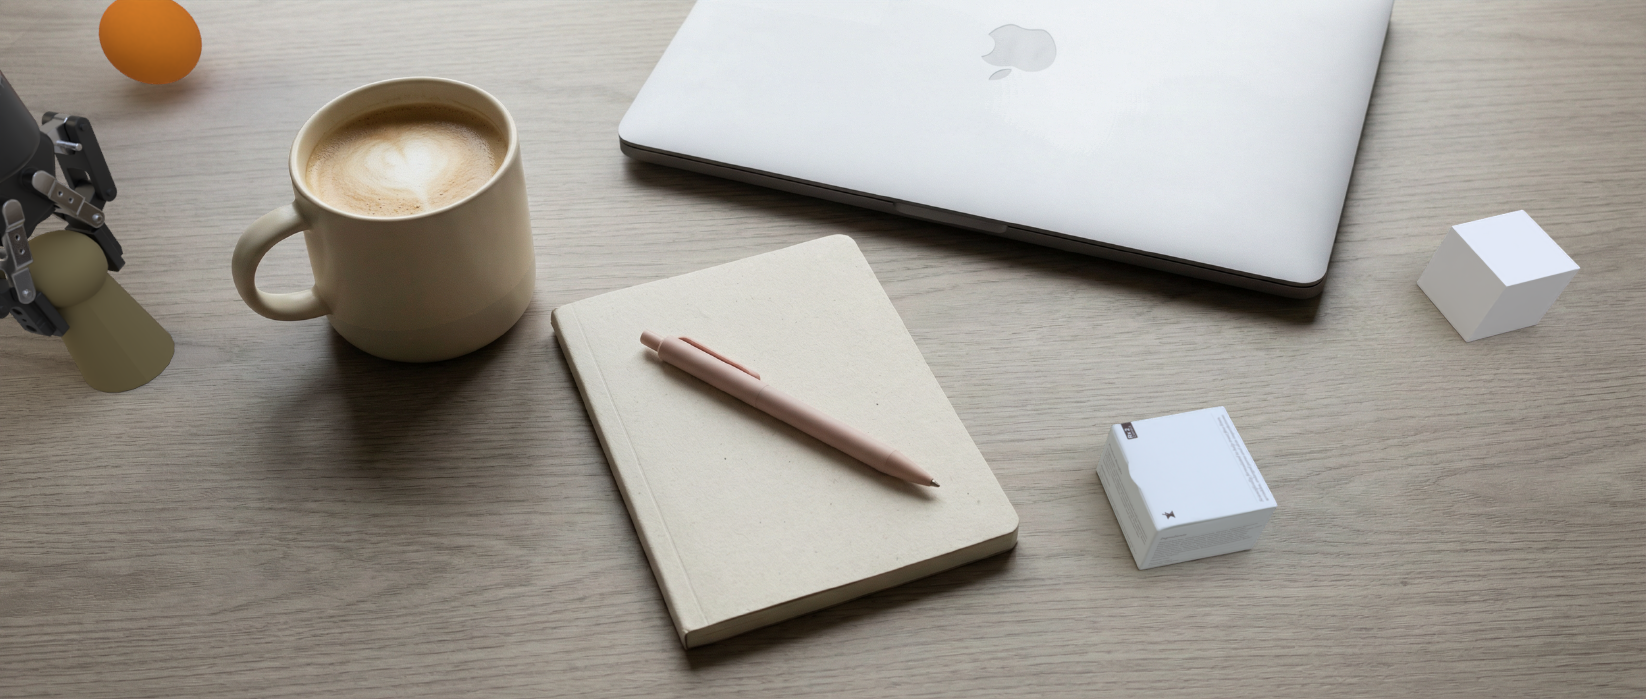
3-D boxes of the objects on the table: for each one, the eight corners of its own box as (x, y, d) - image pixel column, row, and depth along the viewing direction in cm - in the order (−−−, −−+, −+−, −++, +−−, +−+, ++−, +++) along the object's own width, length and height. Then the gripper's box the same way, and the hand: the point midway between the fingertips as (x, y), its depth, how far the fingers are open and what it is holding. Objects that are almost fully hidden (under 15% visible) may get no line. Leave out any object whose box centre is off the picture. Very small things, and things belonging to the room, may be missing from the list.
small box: (1255, 550, 69) (1282, 507, 65) (1136, 573, 68) (1156, 531, 64) (1204, 448, 74) (1226, 402, 70) (1091, 467, 73) (1107, 422, 69)
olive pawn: (78, 343, 80) (-10, 234, 71) (168, 314, 81) (92, 204, 73) (86, 404, 76) (-6, 297, 68) (180, 373, 78) (101, 264, 69)
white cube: (1466, 342, 80) (1506, 286, 75) (1415, 283, 84) (1450, 226, 79) (1537, 324, 81) (1581, 267, 76) (1484, 266, 85) (1523, 208, 80)
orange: (106, 95, 97) (60, 20, 91) (159, 43, 102) (118, -31, 96) (184, 108, 96) (142, 33, 90) (233, 55, 101) (197, -19, 95)
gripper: (-44, 5, 66) (101, 214, 79) (-244, 166, 57) (-43, 371, 70) (68, 24, 64) (196, 232, 78) (-119, 190, 56) (61, 394, 69)
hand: (82, 297), depth 74 cm, fingers closed on olive pawn, 5 cm apart
